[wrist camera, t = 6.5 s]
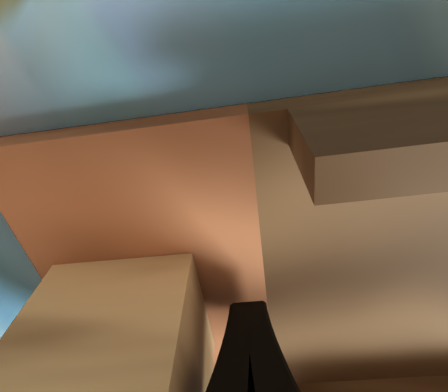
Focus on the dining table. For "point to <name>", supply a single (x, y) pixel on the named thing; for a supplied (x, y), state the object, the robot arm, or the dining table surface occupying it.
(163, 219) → the brown wooden tray
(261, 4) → the dining table surface
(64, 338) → the maple block
